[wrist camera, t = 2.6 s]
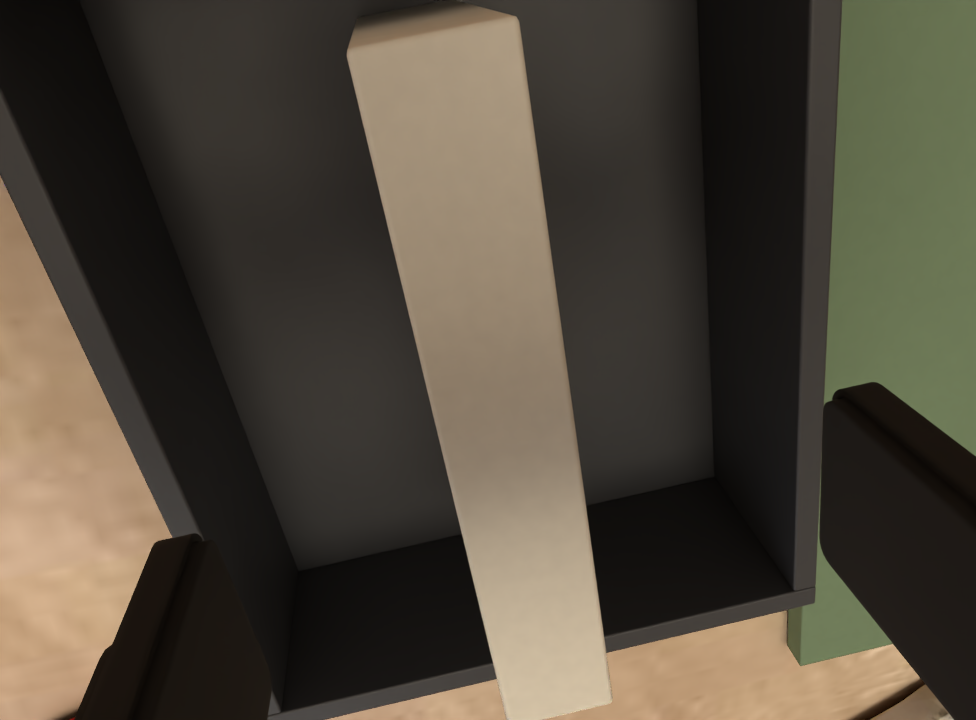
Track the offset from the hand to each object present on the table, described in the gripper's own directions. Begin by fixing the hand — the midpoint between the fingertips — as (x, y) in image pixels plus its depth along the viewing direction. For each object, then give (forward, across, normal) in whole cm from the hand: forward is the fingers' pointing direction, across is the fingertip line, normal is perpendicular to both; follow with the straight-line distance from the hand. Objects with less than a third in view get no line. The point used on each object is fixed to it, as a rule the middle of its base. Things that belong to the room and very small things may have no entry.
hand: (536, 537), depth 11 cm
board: (+9, 0, -1) cm, 9 cm away
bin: (+10, 0, -1) cm, 10 cm away
